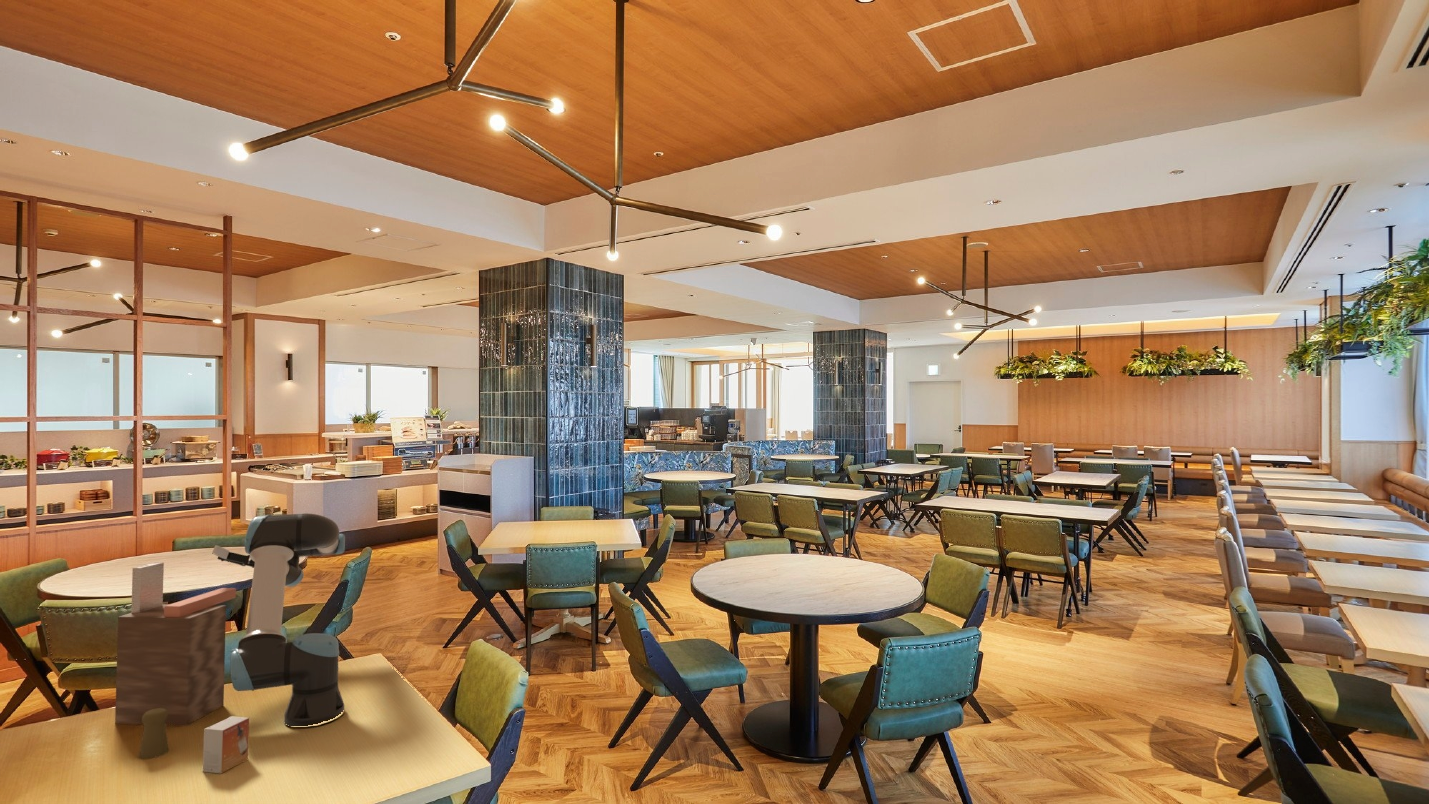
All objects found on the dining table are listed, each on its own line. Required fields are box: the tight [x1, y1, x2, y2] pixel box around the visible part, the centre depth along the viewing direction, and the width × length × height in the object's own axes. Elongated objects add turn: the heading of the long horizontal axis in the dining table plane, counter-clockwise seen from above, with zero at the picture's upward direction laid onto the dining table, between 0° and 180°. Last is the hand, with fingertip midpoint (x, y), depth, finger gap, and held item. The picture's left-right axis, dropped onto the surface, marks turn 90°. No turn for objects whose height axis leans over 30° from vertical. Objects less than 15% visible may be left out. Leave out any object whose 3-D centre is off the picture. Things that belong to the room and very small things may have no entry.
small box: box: [202, 715, 250, 774], centre depth 176 cm, size 8×6×10 cm
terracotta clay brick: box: [164, 587, 237, 617], centre depth 211 cm, size 22×4×3 cm, turn 177°
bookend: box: [130, 561, 165, 613], centre depth 208 cm, size 8×2×13 cm, turn 177°
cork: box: [138, 708, 170, 760], centre depth 182 cm, size 6×6×11 cm
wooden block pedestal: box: [114, 603, 227, 727], centre depth 206 cm, size 14×21×30 cm, turn 87°
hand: (235, 550), depth 224 cm, fingers open, 13 cm apart
